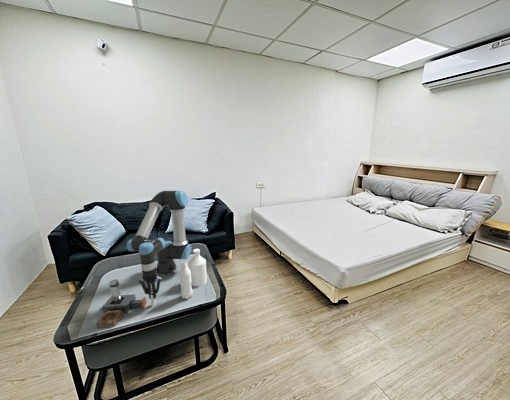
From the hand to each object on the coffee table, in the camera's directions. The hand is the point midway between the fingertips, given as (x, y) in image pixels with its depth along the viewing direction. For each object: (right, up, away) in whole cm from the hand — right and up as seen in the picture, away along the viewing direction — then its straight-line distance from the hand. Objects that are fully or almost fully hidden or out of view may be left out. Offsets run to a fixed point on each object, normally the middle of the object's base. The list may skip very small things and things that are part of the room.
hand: (153, 302), depth 133 cm
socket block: (-21, -2, -1) cm, 21 cm away
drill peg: (-21, -2, -1) cm, 21 cm away
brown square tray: (-19, -5, -11) cm, 23 cm away
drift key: (-9, -2, 0) cm, 10 cm away
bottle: (+22, +4, +24) cm, 33 cm away
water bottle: (+18, 0, +8) cm, 20 cm away
